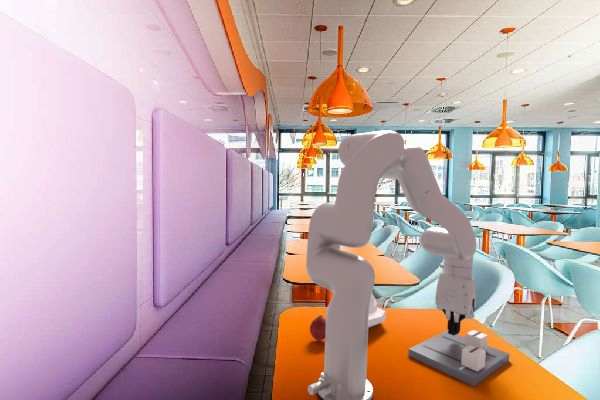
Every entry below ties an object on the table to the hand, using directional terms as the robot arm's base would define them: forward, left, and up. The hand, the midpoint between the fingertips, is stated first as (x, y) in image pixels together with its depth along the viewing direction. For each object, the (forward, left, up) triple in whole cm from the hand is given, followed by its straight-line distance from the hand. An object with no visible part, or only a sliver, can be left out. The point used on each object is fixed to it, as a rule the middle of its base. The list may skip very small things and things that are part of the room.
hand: (453, 333), depth 105 cm
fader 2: (-9, -10, -2) cm, 14 cm away
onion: (-28, +26, -5) cm, 39 cm away
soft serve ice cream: (-9, +25, -5) cm, 27 cm away
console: (-4, -4, -4) cm, 7 cm away
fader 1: (+1, -6, -2) cm, 7 cm away
